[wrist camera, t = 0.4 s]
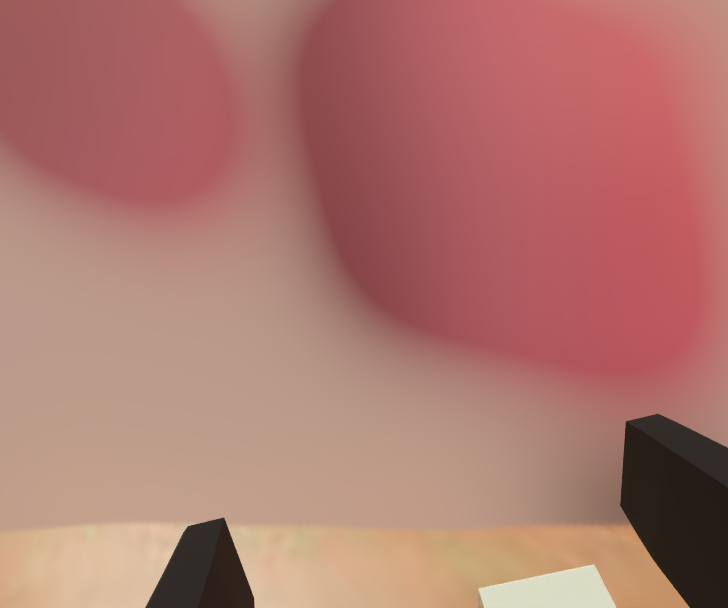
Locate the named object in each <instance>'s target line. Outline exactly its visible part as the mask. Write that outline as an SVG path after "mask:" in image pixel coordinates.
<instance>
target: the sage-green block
mask: <svg viewBox="0 0 728 608" xmlns="http://www.w3.org/2000/svg"><path fill="white" fill-rule="evenodd" d="M478 608H616V606H615V604H614V602H613V600H612V598H611V596H610V594H609V593H608V591H607V589H606V587H605V585H604V583H603V581H602V579H601V577H600V575H599V573H598V571H597V569H596V567H595V565H589V566H584V567H579V568H574V569H570V570H565V571H560V572H555V573H550V574H545V575H541V576H536V577H531V578H526V579H521V580H517V581H512V582H507V583H502V584H497V585H493V586H488V587H483V588H478Z"/></svg>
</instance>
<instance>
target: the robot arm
mask: <svg viewBox="0 0 728 608" xmlns="http://www.w3.org/2000/svg"><path fill="white" fill-rule="evenodd" d="M620 506H621V508H622V509H623V511H624V513H625V514H626V516H627V518H628V519H629V521H630V523H631V525H632V526H633V528H634V530H635V531H636V533H637V535H638V536H639V538H640V539H641V541H642V543H643V544H644V546H645V547H646V549H647V551H648V552H649V554H650V555H651V557H652V558H653V560H654V561H655V563H656V564H657V565H658V567H659V568H660V569H661V571H662V572H663V573H664V575H665V576H666V577H667V578H668V580H669V581H670V582H671V584H672V585H673V586H674V588H675V589H676V590H677V591H678V593H679V594H680V595H681V597H682V598H683V599H684V600H685V602H686V603H687V604H688V606H689V607H690V608H728V448H727V447H725V446H723V445H721V444H719V443H717V442H715V441H713V440H711V439H709V438H707V437H705V436H703V435H701V434H699V433H697V432H695V431H693V430H691V429H689V428H687V427H685V426H683V425H681V424H679V423H677V422H675V421H672V420H670V419H668V418H666V417H664V416H662V415H659V414H655V415H651V416H647V417H643V418H639V419H635V420H630V421H626V428H625V443H624V458H623V474H622V489H621V503H620ZM145 608H254V596H253V594H252V591H251V588H250V586H249V583H248V580H247V578H246V575H245V572H244V570H243V567H242V564H241V562H240V559H239V556H238V554H237V551H236V548H235V545H234V543H233V540H232V537H231V535H230V532H229V529H228V527H227V524H226V521H225V519H224V518H221V519H216V520H212V521H208V522H204V523H200V524H195V525H191V526H188V527H187V528H186V530H185V531H184V533H183V534H182V536H181V539H180V541H179V543H178V545H177V547H176V549H175V551H174V553H173V555H172V557H171V559H170V561H169V563H168V565H167V567H166V569H165V571H164V573H163V575H162V577H161V579H160V580H159V582H158V584H157V586H156V588H155V590H154V592H153V594H152V596H151V598H150V600H149V602H148V604H147V606H146V607H145Z"/></svg>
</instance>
